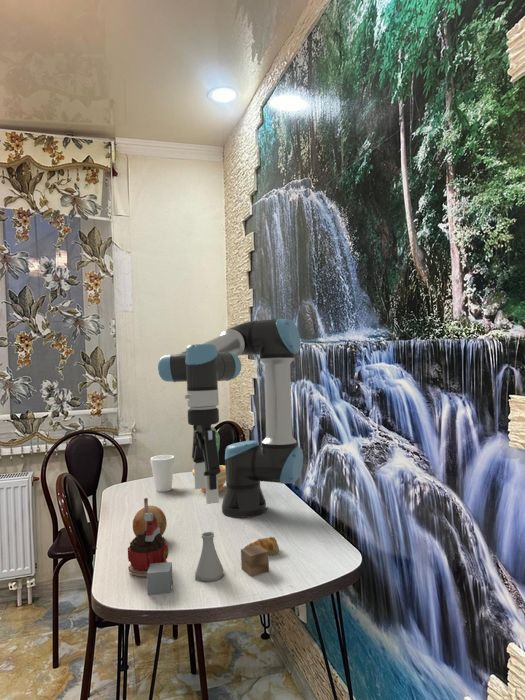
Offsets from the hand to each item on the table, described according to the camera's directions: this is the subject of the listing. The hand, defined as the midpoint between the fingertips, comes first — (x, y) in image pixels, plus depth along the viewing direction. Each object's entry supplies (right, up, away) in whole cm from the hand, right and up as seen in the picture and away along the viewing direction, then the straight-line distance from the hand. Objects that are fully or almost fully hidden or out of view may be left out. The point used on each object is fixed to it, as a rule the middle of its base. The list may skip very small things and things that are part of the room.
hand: (206, 495), depth 116 cm
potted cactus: (-7, -21, +76) cm, 79 cm away
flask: (+1, -20, 0) cm, 20 cm away
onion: (-19, -21, +24) cm, 37 cm away
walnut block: (+12, -19, +2) cm, 22 cm away
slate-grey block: (-10, -20, -6) cm, 23 cm away
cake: (-15, -20, +4) cm, 26 cm away
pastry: (+14, -19, +12) cm, 27 cm away
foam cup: (-27, -22, +78) cm, 85 cm away
